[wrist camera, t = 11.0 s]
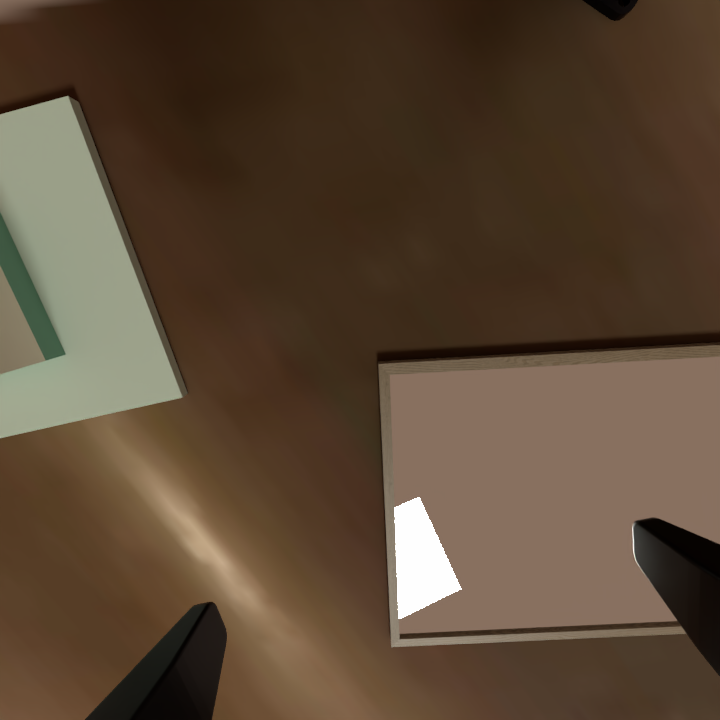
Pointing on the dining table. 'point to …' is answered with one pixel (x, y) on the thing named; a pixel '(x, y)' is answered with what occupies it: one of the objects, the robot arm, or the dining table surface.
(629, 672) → the dining table surface
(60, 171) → the mat
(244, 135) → the dining table surface
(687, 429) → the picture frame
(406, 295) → the dining table surface
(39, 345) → the mahjong tile
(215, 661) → the robot arm
